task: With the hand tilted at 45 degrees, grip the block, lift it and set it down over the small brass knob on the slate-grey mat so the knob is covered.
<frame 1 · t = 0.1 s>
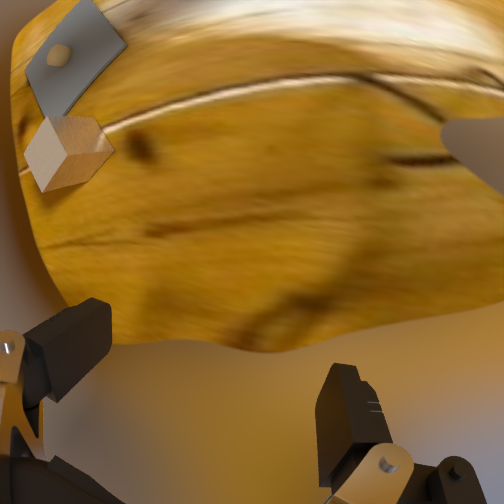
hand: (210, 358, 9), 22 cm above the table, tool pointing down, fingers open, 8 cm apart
block: (90, 149, 30), on the table
mat: (67, 57, 26), on the table
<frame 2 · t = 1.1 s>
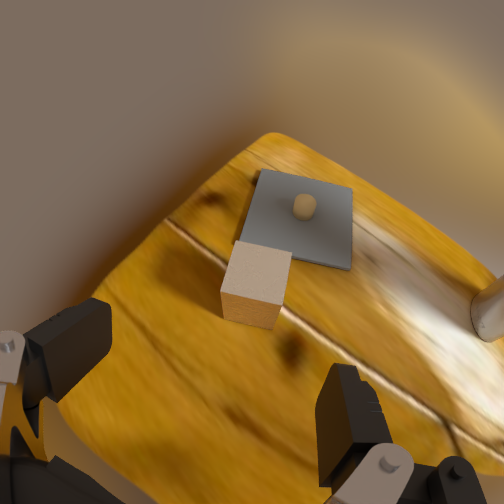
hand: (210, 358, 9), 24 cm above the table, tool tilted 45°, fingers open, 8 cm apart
block: (253, 302, 35), on the table
mat: (302, 214, 43), on the table
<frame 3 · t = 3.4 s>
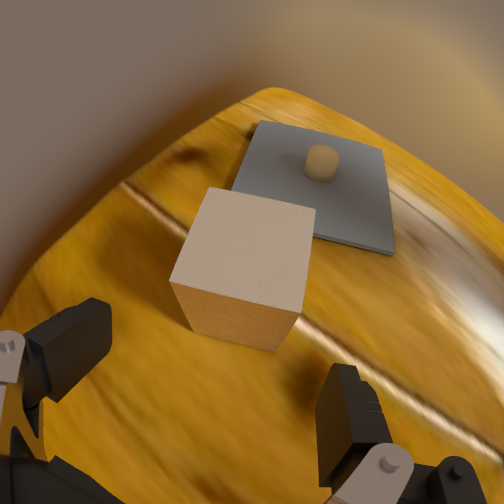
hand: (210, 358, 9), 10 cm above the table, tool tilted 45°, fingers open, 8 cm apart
block: (244, 305, 21), on the table
mat: (318, 176, 29), on the table
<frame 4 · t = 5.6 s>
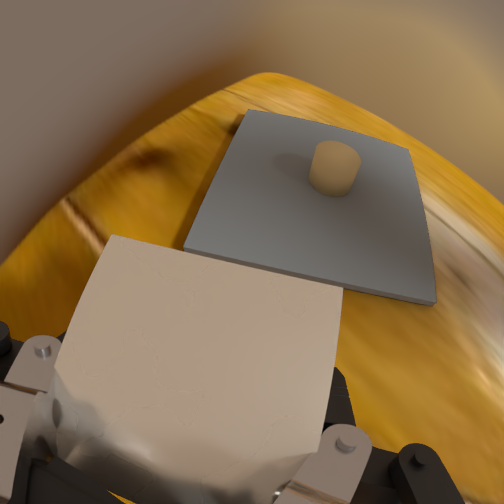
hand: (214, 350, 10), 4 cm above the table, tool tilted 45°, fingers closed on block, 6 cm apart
block: (212, 399, 12), on the table, touching gripper
mat: (327, 186, 20), on the table
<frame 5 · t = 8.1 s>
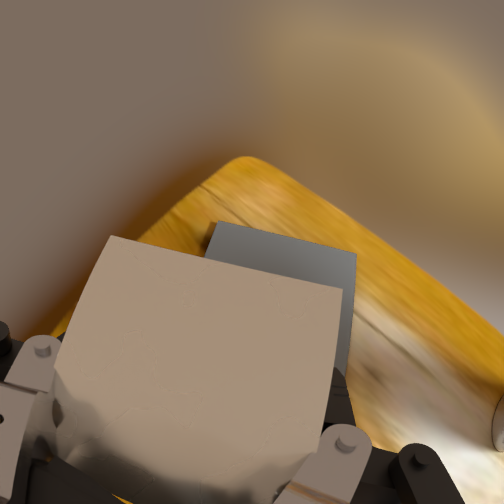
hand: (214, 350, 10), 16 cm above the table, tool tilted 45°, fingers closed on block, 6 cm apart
block: (212, 399, 12), point 12 cm above the table, touching gripper
mat: (273, 305, 27), on the table
when the fingers open (6 cm above the table, at t = 10.9 s): block drops 1 cm, resting on mat.
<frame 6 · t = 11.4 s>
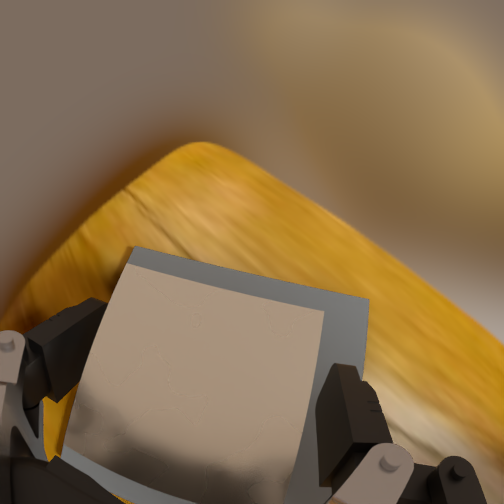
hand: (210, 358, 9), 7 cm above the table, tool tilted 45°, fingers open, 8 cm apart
block: (213, 400, 14), point 1 cm above the table, touching mat
mat: (215, 400, 14), on the table
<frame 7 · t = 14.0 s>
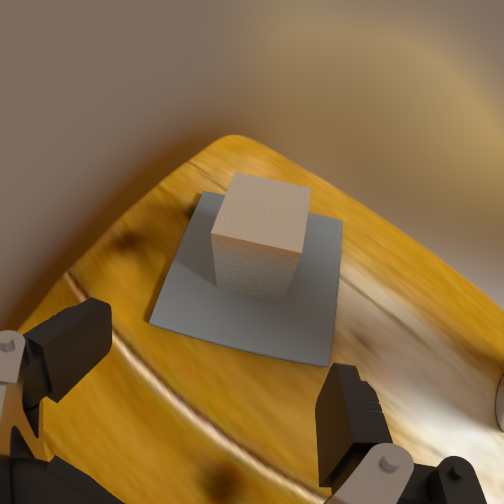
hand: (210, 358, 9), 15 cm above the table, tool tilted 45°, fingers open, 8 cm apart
block: (257, 266, 27), point 1 cm above the table, touching mat
mat: (256, 269, 27), on the table
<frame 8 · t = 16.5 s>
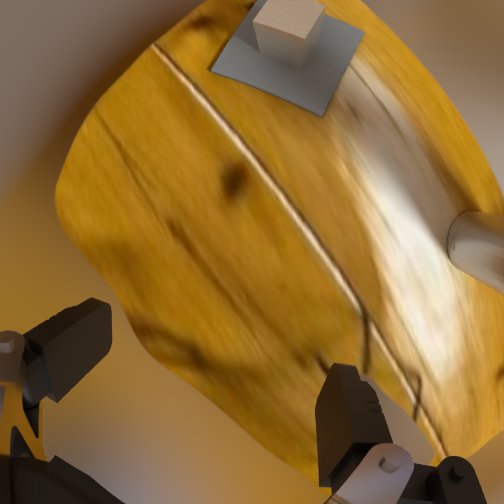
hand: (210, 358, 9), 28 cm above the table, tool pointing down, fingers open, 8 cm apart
block: (290, 45, 30), point 1 cm above the table, touching mat
mat: (290, 47, 30), on the table
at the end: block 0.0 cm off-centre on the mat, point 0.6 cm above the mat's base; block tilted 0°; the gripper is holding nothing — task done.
